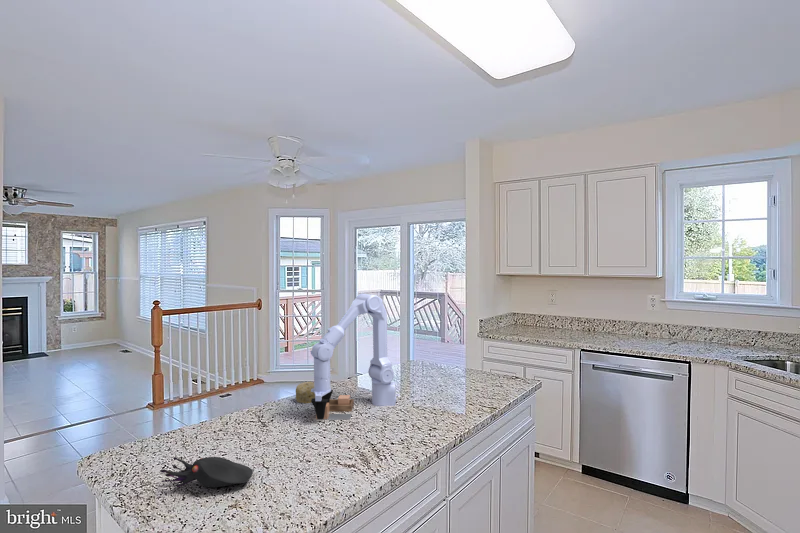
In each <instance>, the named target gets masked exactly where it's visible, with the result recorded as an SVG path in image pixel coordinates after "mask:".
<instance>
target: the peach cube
mask: <svg viewBox="0 0 800 533" xmlns="http://www.w3.org/2000/svg"><path fill="white" fill-rule="evenodd" d="M337 399H338V405H350V399H351V395H350V394H339V396H338V397H337Z"/></svg>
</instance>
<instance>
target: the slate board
mask: <svg viewBox="0 0 800 533" xmlns="http://www.w3.org/2000/svg"><path fill="white" fill-rule="evenodd" d="M352 416H353V414H352V413H329V417H328V419H316V418H315V420H316V421H347V420H348V421H350V420H351V418H352Z"/></svg>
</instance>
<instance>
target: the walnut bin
mask: <svg viewBox="0 0 800 533" xmlns="http://www.w3.org/2000/svg"><path fill="white" fill-rule="evenodd" d="M354 405H355V399H354V398H350V405H338V398H335V399H331V398H330V402H329V413H331V412H339V413H340V412H344V413H345V412H352V411H353V408H354Z"/></svg>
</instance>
